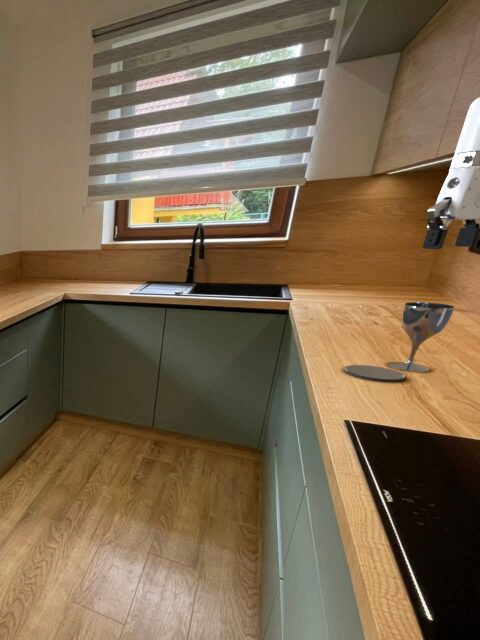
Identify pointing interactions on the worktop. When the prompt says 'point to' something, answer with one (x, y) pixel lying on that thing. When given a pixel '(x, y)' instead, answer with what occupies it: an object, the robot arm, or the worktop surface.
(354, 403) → the worktop surface
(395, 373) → the coaster
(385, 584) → the worktop surface
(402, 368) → the wine glass
